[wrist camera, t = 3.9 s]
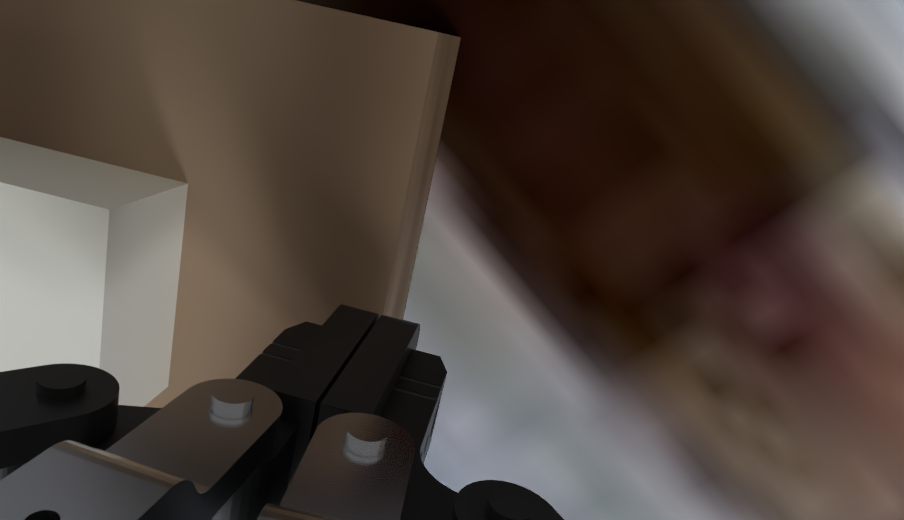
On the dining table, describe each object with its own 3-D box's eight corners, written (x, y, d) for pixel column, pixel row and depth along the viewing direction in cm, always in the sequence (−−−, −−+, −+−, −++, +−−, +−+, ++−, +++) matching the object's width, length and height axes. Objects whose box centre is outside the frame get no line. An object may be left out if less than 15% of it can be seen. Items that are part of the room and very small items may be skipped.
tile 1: (188, 183, 14) (109, 209, 11) (167, 386, 15) (93, 448, 12) (-24, 131, 14) (-144, 145, 12) (-25, 334, 15) (-133, 384, 13)
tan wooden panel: (460, 37, 15) (438, 32, 12) (365, 500, 19) (330, 580, 16) (-168, -103, 16) (-324, -138, 13) (-143, 358, 20) (-262, 409, 17)
